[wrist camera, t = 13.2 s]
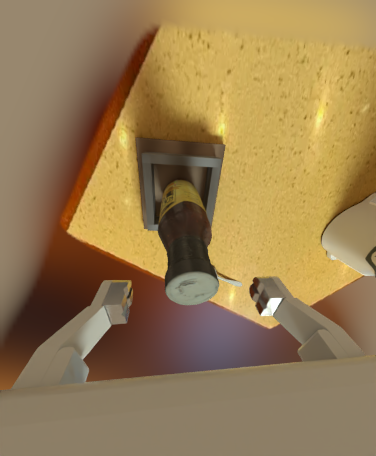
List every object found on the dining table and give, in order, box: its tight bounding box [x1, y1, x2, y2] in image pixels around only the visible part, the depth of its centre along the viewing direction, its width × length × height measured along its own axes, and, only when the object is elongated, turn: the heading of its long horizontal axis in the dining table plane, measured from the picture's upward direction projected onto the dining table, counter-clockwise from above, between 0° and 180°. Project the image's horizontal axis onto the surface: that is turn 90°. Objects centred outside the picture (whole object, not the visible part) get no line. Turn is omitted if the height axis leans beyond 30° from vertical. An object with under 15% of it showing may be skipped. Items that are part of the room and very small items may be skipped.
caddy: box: [136, 138, 225, 231], centre depth 26 cm, size 14×16×5 cm
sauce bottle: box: [158, 179, 219, 305], centre depth 19 cm, size 7×6×20 cm
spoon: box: [214, 268, 242, 286], centre depth 42 cm, size 4×21×2 cm, turn 55°
